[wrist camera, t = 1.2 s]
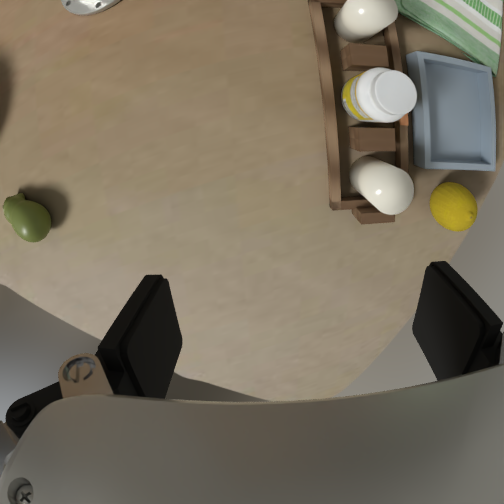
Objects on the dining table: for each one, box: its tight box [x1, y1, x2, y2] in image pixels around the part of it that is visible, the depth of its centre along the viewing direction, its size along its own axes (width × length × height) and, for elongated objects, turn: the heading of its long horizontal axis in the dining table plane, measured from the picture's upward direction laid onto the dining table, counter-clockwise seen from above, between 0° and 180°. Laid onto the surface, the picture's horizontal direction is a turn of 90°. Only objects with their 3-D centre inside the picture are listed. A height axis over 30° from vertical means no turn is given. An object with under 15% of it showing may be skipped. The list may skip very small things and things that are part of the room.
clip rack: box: [308, 0, 409, 224], centre depth 27 cm, size 27×9×4 cm, turn 7°
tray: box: [406, 51, 496, 171], centre depth 27 cm, size 14×12×3 cm
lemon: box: [430, 182, 477, 231], centre depth 29 cm, size 6×6×8 cm
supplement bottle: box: [341, 67, 417, 123], centre depth 25 cm, size 5×5×10 cm
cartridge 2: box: [349, 156, 414, 215], centre depth 29 cm, size 4×4×8 cm
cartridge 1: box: [334, 0, 398, 43], centre depth 22 cm, size 4×4×8 cm
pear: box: [3, 193, 51, 242], centre depth 34 cm, size 6×5×10 cm
